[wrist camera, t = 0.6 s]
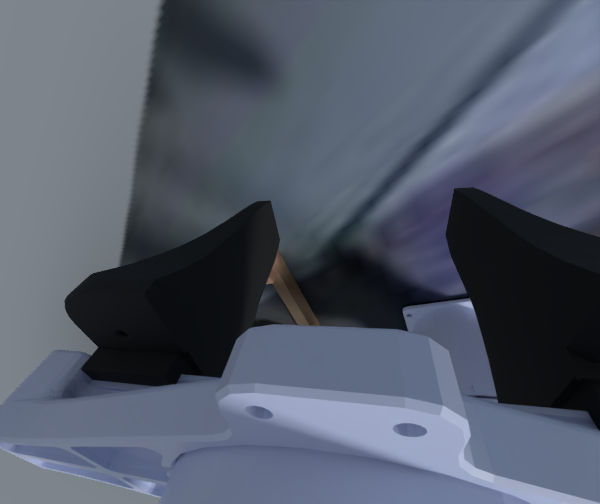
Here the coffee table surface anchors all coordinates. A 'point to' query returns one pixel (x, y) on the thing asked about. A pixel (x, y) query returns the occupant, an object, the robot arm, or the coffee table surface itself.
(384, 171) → the coffee table surface
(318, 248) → the coffee table surface
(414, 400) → the robot arm
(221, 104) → the coffee table surface
